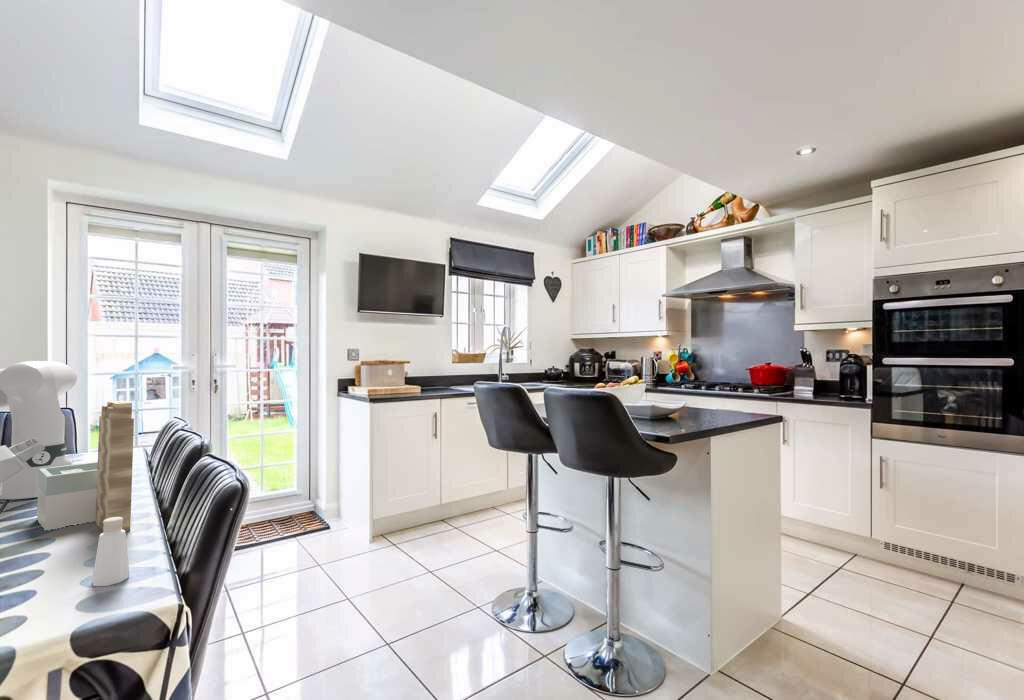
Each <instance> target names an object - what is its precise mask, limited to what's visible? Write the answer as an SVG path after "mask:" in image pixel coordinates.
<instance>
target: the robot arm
mask: <svg viewBox="0 0 1024 700" xmlns="http://www.w3.org/2000/svg"><path fill="white" fill-rule="evenodd" d="M77 380H78V375H77V373H76V370H75V369H74V368H73V367H71V366H70V365H67V364H66V363H63V362H61V361H57V360H56V361H55V360H25V361H24V360H23V361H20V362H18V363H14V364H12V365H10V366H8V367H5V368H0V408H4V407H8V408H9V411H10V416H11V444H10V445H11V446H9V447H8V446H7V445H6V444H3V445H0V500H25V499H32V498H38V479H39V469H42V468H50V467H58V466H67V465H73V461H72V460H71V459H70V458H68V457H67V456H66V454H67V443H66V442H65V431H66V417H65V414H64V413H63V411H62V409H61V405H60V401H59V396H60V395H63V394H65V393H67V392H69V391H70V390H71V389H73V388H74V386H75V385H76V383H77Z"/></svg>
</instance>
